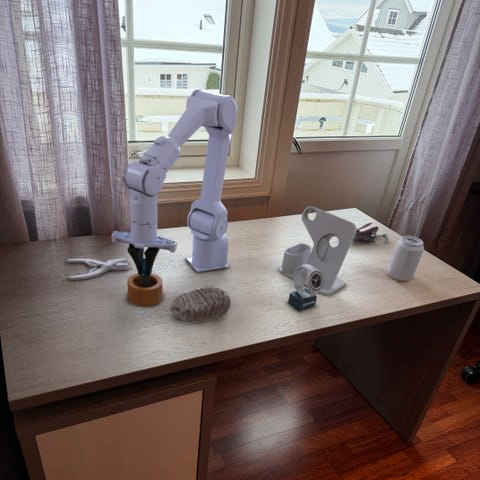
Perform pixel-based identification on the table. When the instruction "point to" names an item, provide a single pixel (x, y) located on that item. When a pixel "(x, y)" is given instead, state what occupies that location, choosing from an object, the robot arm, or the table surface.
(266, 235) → the table surface
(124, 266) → the pliers
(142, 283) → the brush
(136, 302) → the orange flowerpot
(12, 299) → the table surface
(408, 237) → the can
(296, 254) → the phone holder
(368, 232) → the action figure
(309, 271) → the watch
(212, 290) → the seashell
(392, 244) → the table surface
